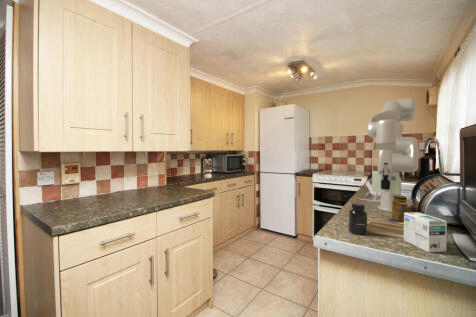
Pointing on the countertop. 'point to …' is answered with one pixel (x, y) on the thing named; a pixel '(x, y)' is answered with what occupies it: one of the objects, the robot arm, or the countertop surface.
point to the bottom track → (385, 228)
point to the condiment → (398, 209)
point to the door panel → (393, 182)
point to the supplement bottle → (357, 219)
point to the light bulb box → (425, 232)
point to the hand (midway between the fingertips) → (385, 188)
